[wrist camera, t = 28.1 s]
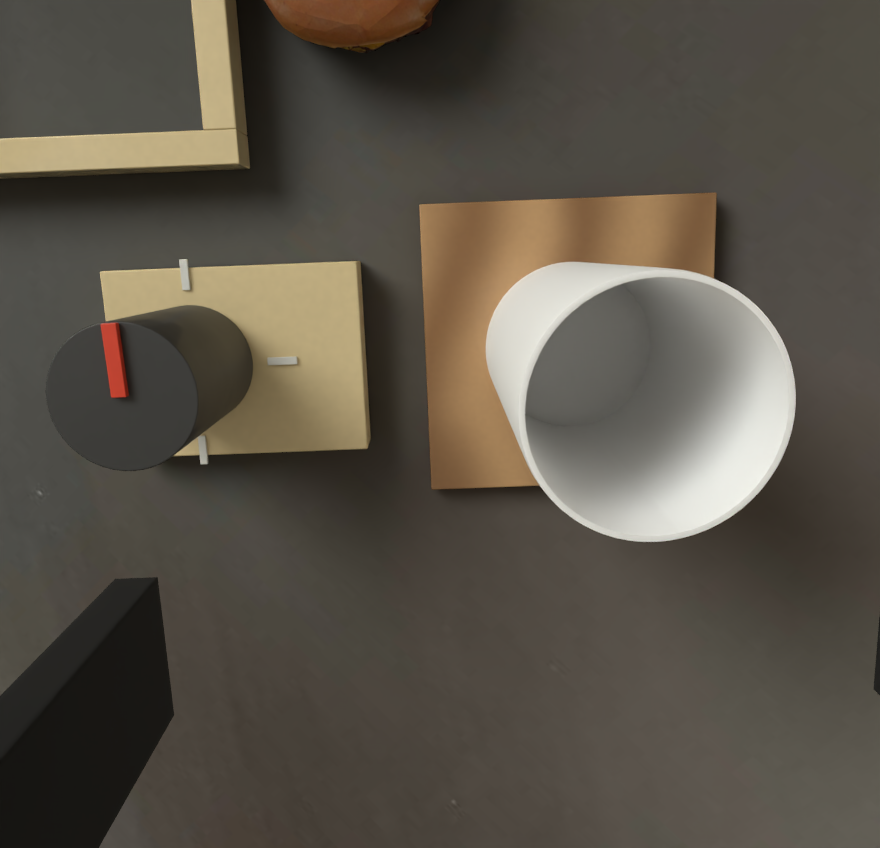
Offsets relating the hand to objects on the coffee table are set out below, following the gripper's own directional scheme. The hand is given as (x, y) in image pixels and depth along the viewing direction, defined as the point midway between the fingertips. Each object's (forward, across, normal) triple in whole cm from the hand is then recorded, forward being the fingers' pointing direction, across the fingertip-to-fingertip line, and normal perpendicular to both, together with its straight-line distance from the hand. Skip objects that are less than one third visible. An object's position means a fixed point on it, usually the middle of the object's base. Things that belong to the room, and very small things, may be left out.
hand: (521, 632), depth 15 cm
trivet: (+27, +5, +2) cm, 27 cm away
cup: (+26, +5, +2) cm, 26 cm away
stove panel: (+27, -11, +2) cm, 29 cm away
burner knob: (+25, -13, +2) cm, 28 cm away
